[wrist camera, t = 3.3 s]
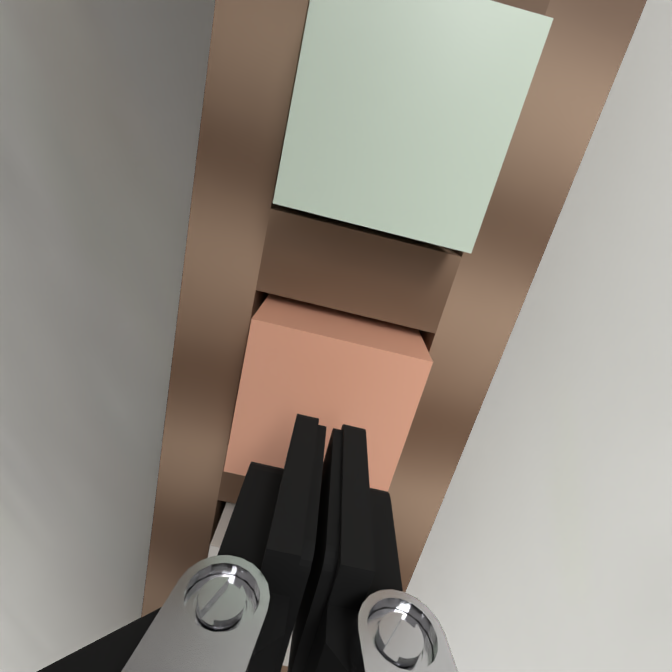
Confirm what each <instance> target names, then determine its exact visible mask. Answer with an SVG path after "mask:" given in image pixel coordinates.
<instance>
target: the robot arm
mask: <svg viewBox="0 0 672 672" xmlns="http://www.w3.org/2000/svg"><path fill="white" fill-rule="evenodd" d="M318 424H319V418H315V417H310V416H306V415H301V414H297V416H296V420H295V424H294V428H293V432H292V436H291V441H290V445H289V449H288V453H287V457H286V461H285V466H284V469H283V468H279V467H274V466H270V465H265V464H261V463H256V462H252V461H251V463H250V465H249V468H248V470H247V473H246V476H245V479H244V482H243V484H242V487H241V490H240V493H239V496H238V499H237V501H236V504H235V507H234V510H233V513H232V515H231V518H230V521H229V524H228V527H227V529H226V532H225V535H224V538H223V541H222V543H221V546H220V549H219V552H218V555H217V556H212V557H209V558H206V559H203V560H200V561H199V562H197V563H196V564H194V565H193V566H191V567H190V568H188V569H187V571H186V572H185V573H184V574H183V575H182V576H181V578H180V579H179V580H178V582H177V583H176V585H175V587H174V588H173V590H172V591H171V593H170V595H169V596H168V598H167V599H166V601H165V603H164V604H163V606H162V607H160V608H159V609H157V610H155V611H153V612H151V613H149V614H147V615H145V616H143V617H141V618H139V619H137V620H135V621H134V622H132V623H130V624H128V625H126V626H124V627H122V628H120V629H118V630H116V631H114V632H112V633H110V634H108V635H107V636H105V637H103V638H101V639H99V640H97V641H95V642H93V643H91V644H89V645H87V646H85V647H83V648H82V649H80V650H78V651H76V652H74V653H72V654H70V655H68V656H66V657H64V658H62V659H60V660H58V661H56V662H55V663H53V664H51V665H49V666H47V667H45V668H43V669H41V670H39V671H37V672H281V668H282V665H283V662H284V658H285V655H286V651H287V648H288V645H289V641H290V638H291V635H292V639H291V647H290V655H289V663H288V671H287V672H458V670H457V667H456V664H455V661H454V658H453V655H452V653H451V650H450V647H449V644H448V641H447V638H446V635H445V633H444V631H443V629H442V627H441V625H440V622H439V620H438V619H437V618H436V616H435V615H434V614H433V613H432V611H431V610H430V609H429V608H428V607H427V606H426V605H425V604H423V603H422V602H421V601H420V600H418V599H417V598H415V597H413V596H411V595H409V594H407V593H405V592H403V589H402V581H401V574H400V566H399V558H398V550H397V543H396V535H395V527H394V520H393V512H392V504H391V498H390V494H389V492H387V491H383V490H378V489H374V488H370V484H369V469H368V453H367V438H366V429H363V428H358V427H354V426H350V425H345V424H343V425H342V428H341V430H340V429H335V428H333V430H332V433H331V436H330V440H329V444H328V447H327V451H326V454H325V458H324V449H325V439H326V426H322V425H318ZM323 459H324V462H323ZM292 631H293V632H292Z"/></svg>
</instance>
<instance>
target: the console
mask: <svg viewBox="0 0 672 672" xmlns="http://www.w3.org/2000/svg"><path fill="white" fill-rule="evenodd" d="M492 1H495V2H499V3H502V4H506V5H509V6H513V7H516V8H519V9H523V10H526V11H530V12H533V13H537V14H540V15H544V16H547V17H551V18H554V19H553V21H552V24H551V27H550V30H549V33H548V36H547V39H546V41H545V44H544V47H543V50H542V53H541V56H540V59H539V61H538V64H537V67H536V70H535V73H534V76H533V79H532V81H531V84H530V87H529V90H528V93H527V96H526V99H525V101H524V104H523V107H522V110H521V113H520V116H519V119H518V121H517V124H516V127H515V130H514V133H513V136H512V139H511V141H510V144H509V147H508V150H507V153H506V156H505V159H504V161H503V164H502V167H501V170H500V173H499V176H498V178H497V181H496V184H495V187H494V190H493V193H492V196H491V198H490V201H489V204H488V207H487V210H486V213H485V216H484V218H483V221H482V224H481V227H480V230H479V233H478V236H477V238H476V241H475V244H474V247H473V250H472V253H467V252H463V251H459V250H455V249H451V248H447V247H443V246H439V245H435V244H431V243H427V242H423V241H419V240H415V239H411V238H407V237H404V236H400V235H396V234H392V233H388V232H384V231H380V230H376V229H372V228H368V227H364V226H360V225H356V224H352V223H348V222H344V221H340V220H336V219H333V218H329V217H325V216H321V215H317V214H313V213H309V212H305V211H301V210H297V209H293V208H289V207H285V206H281V205H277V204H273V199H274V193H275V188H276V183H277V177H278V172H279V166H280V161H281V155H282V150H283V144H284V139H285V133H286V128H287V123H288V117H289V112H290V106H291V101H292V95H293V90H294V84H295V79H296V73H297V68H298V63H299V57H300V52H301V46H302V41H303V35H304V30H305V24H306V19H307V14H308V8H309V3H310V0H215V9H214V17H213V25H212V33H211V42H210V50H209V58H208V67H207V75H206V83H205V92H204V100H203V108H202V117H201V125H200V133H199V141H198V150H197V158H196V166H195V175H194V183H193V191H192V200H191V208H190V216H189V225H188V233H187V241H186V250H185V258H184V266H183V274H182V283H181V291H180V299H179V308H178V316H177V324H176V333H175V341H174V349H173V358H172V366H171V374H170V382H169V391H168V399H167V407H166V416H165V424H164V432H163V441H162V449H161V457H160V466H159V474H158V482H157V490H156V499H155V507H154V515H153V524H152V532H151V540H150V549H149V557H148V565H147V574H146V582H145V590H144V598H143V607H142V615H141V617H143V616H145V615H147V614H149V613H151V612H153V611H155V610H157V609H159V608H160V607H162V606H163V604H164V603H165V601H166V599H167V598H168V596H169V595H170V593H171V591H172V590H173V588H174V587H175V585H176V583H177V582H178V580H179V579H180V578H181V576H182V575H183V574H184V573H185V572H186V571H187V569H188V568H190V567H191V566H193V565H194V564H196V563H197V562H199V561H200V560H203V559H206V558H208V553H209V548H210V544H211V541H212V539H213V536H214V534H215V531H216V528H217V526H218V523H219V521H220V518H221V515H222V513H223V510H224V508H225V505H226V502H230V503H234V504H236V501H237V499H238V496H239V493H240V490H241V487H242V484H243V482H244V479H245V476H243V475H238V474H234V473H229V472H224V466H225V461H226V455H227V450H228V444H229V439H230V433H231V428H232V423H233V417H234V412H235V406H236V401H237V395H238V390H239V384H240V379H241V373H242V368H243V363H244V357H245V352H246V346H247V341H248V335H249V330H250V324H251V319H252V317H253V316H254V315H255V313H256V312H257V310H258V309H259V308H260V306H261V305H262V303H263V302H264V301H265V299H266V298H267V297H268V295H269V294H274V295H279V296H283V297H287V298H291V299H295V300H299V301H303V302H307V303H312V304H316V305H320V306H324V307H328V308H332V309H336V310H340V311H345V312H349V313H353V314H357V315H361V316H365V317H369V318H373V319H378V320H382V321H386V322H390V323H394V324H398V325H402V326H406V327H411V328H415V329H418V330H419V332H420V335H421V337H422V339H423V341H424V343H425V345H426V348H427V350H428V352H429V354H430V356H431V358H432V361H433V364H432V367H431V370H430V373H429V376H428V378H427V381H426V384H425V387H424V390H423V393H422V396H421V398H420V401H419V404H418V407H417V410H416V413H415V416H414V418H413V421H412V424H411V427H410V430H409V433H408V436H407V438H406V441H405V444H404V447H403V450H402V453H401V456H400V458H399V461H398V464H397V467H396V470H395V473H394V476H393V478H392V481H391V484H390V487H389V490H388V492H389V494H390V498H391V504H392V512H393V520H394V527H395V535H396V543H397V550H398V558H399V566H400V574H401V581H402V589H403V592H406V589H407V587H408V584H409V582H410V579H411V577H412V574H413V572H414V570H415V567H416V565H417V562H418V560H419V557H420V555H421V552H422V550H423V547H424V545H425V543H426V540H427V538H428V535H429V533H430V530H431V528H432V525H433V523H434V521H435V518H436V516H437V513H438V511H439V508H440V506H441V503H442V501H443V498H444V496H445V494H446V491H447V489H448V486H449V484H450V481H451V479H452V476H453V474H454V472H455V469H456V467H457V464H458V462H459V459H460V457H461V454H462V452H463V449H464V447H465V445H466V442H467V440H468V437H469V435H470V432H471V430H472V427H473V425H474V423H475V420H476V418H477V415H478V413H479V410H480V408H481V405H482V403H483V400H484V398H485V396H486V393H487V391H488V388H489V386H490V383H491V381H492V378H493V376H494V374H495V371H496V369H497V366H498V364H499V361H500V359H501V356H502V354H503V351H504V349H505V347H506V344H507V342H508V339H509V337H510V334H511V332H512V329H513V327H514V325H515V322H516V320H517V317H518V315H519V312H520V310H521V307H522V305H523V302H524V300H525V298H526V295H527V293H528V290H529V288H530V285H531V283H532V280H533V278H534V276H535V273H536V271H537V268H538V266H539V263H540V261H541V258H542V256H543V253H544V251H545V249H546V246H547V244H548V241H549V239H550V236H551V234H552V231H553V229H554V227H555V224H556V222H557V219H558V217H559V214H560V212H561V209H562V207H563V204H564V202H565V200H566V197H567V195H568V192H569V190H570V187H571V185H572V182H573V180H574V177H575V175H576V173H577V170H578V168H579V165H580V163H581V160H582V158H583V155H584V153H585V151H586V148H587V146H588V143H589V141H590V138H591V136H592V133H593V131H594V128H595V126H596V124H597V121H598V119H599V116H600V114H601V111H602V109H603V106H604V104H605V102H606V99H607V97H608V94H609V92H610V89H611V87H612V84H613V82H614V79H615V77H616V75H617V72H618V70H619V67H620V65H621V62H622V60H623V57H624V55H625V53H626V50H627V48H628V45H629V43H630V40H631V38H632V35H633V33H634V30H635V28H636V26H637V23H638V21H639V18H640V16H641V13H642V11H643V8H644V6H645V4H646V1H647V0H492ZM287 671H288V666H283V665H282V668H281V672H287Z"/></svg>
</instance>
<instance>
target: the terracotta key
mask: <svg viewBox="0 0 672 672" xmlns="http://www.w3.org/2000/svg"><path fill="white" fill-rule="evenodd" d="M432 364H433V361H432V358H431V356H430V354H429V352H428V350H427V348H426V345H425V343H424V341H423V339H422V337H421V335H420V332H419V330H418V329H415V328H411V327H406V326H402V325H398V324H394V323H390V322H386V321H382V320H378V319H373V318H369V317H365V316H361V315H357V314H353V313H349V312H345V311H340V310H336V309H332V308H328V307H324V306H320V305H316V304H312V303H307V302H303V301H299V300H295V299H291V298H287V297H283V296H279V295H274V294H269V295H268V297H267V298H266V299H265V301H264V302H263V303H262V305H261V306H260V308H259V309H258V310H257V312H256V313H255V315H254V316H253V317H252V319H251V324H250V330H249V335H248V341H247V346H246V352H245V357H244V363H243V368H242V373H241V379H240V384H239V390H238V395H237V401H236V406H235V412H234V417H233V423H232V428H231V433H230V439H229V444H228V450H227V455H226V461H225V466H224V472H229V473H234V474H238V475H243V476H246V473H247V470H248V468H249V465H250V463H251V461H252V462H256V463H261V464H265V465H270V466H274V467H279V468H283V469H284V466H285V461H286V457H287V453H288V449H289V445H290V441H291V436H292V432H293V428H294V424H295V420H296V416H297V414H301V415H306V416H310V417H315V418H319V424H318V425H322V426H326V439H325V449H324V458H325V454H326V451H327V447H328V444H329V440H330V436H331V433H332V430H333V428H335V429H340V430H341V428H342V425H343V424H345V425H350V426H354V427H358V428H363V429H366V438H367V453H368V469H369V484H370V488H374V489H378V490H383V491H387V492H388V490H389V487H390V484H391V481H392V478H393V476H394V473H395V470H396V467H397V464H398V461H399V458H400V456H401V453H402V450H403V447H404V444H405V441H406V438H407V436H408V433H409V430H410V427H411V424H412V421H413V418H414V416H415V413H416V410H417V407H418V404H419V401H420V398H421V396H422V393H423V390H424V387H425V384H426V381H427V378H428V376H429V373H430V370H431V367H432ZM323 462H324V459H323Z"/></svg>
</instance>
